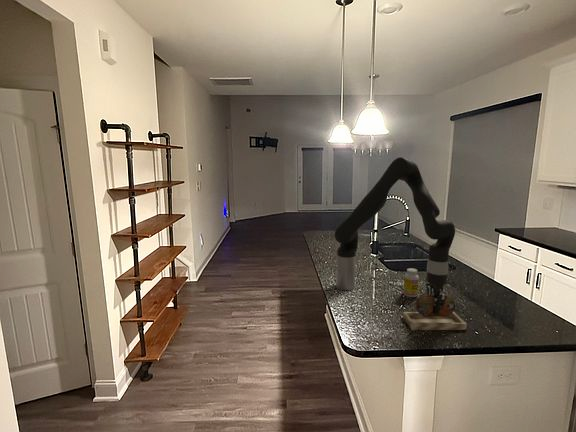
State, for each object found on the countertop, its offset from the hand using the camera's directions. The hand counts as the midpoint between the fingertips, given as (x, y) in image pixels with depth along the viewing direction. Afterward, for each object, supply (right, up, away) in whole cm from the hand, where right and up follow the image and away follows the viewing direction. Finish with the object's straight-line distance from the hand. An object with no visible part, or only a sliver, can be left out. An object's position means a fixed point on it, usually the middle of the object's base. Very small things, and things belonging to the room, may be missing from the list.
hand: (434, 312), depth 129 cm
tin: (0, -1, +1) cm, 2 cm away
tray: (0, -5, +1) cm, 5 cm away
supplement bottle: (+1, 0, +28) cm, 28 cm away
